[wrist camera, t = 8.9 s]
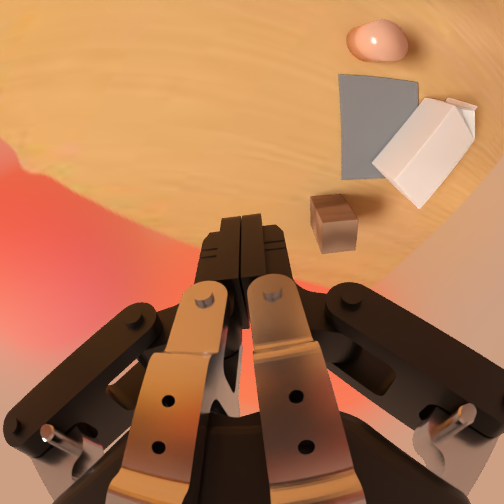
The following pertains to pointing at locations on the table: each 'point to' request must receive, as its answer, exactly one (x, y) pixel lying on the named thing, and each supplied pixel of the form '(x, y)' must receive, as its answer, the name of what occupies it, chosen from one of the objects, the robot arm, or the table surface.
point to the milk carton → (427, 147)
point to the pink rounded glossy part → (378, 42)
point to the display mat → (371, 119)
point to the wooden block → (333, 223)
